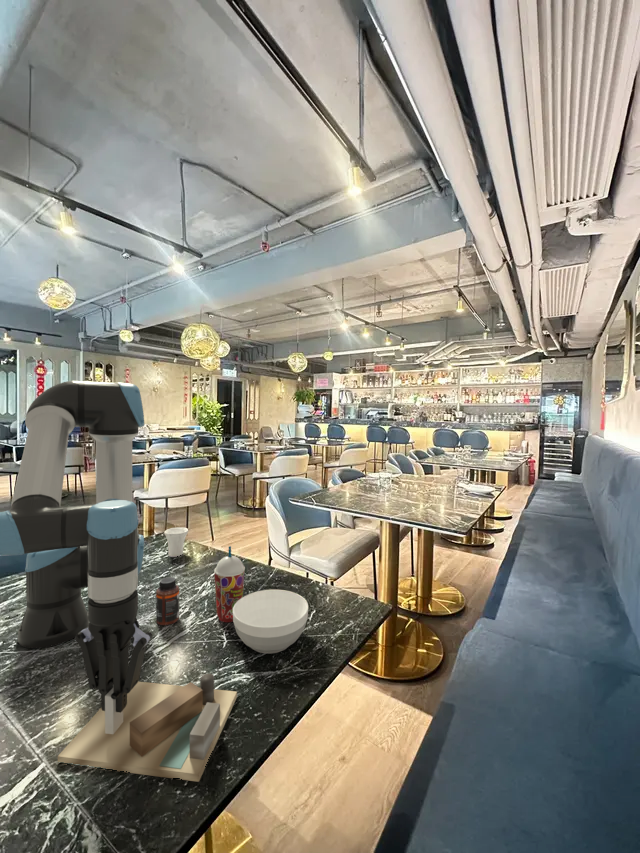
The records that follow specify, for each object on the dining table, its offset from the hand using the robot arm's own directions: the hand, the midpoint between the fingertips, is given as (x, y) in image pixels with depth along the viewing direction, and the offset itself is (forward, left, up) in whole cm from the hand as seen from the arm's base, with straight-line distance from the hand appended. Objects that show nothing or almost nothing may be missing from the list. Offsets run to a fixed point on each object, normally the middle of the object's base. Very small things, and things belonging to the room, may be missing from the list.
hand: (114, 727), depth 67 cm
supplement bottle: (-11, +38, -3) cm, 40 cm away
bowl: (+19, +33, -3) cm, 39 cm away
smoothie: (+5, +42, -3) cm, 43 cm away
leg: (+8, +3, -1) cm, 9 cm away
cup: (-32, +84, -3) cm, 90 cm away
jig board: (+5, +4, -3) cm, 7 cm away
